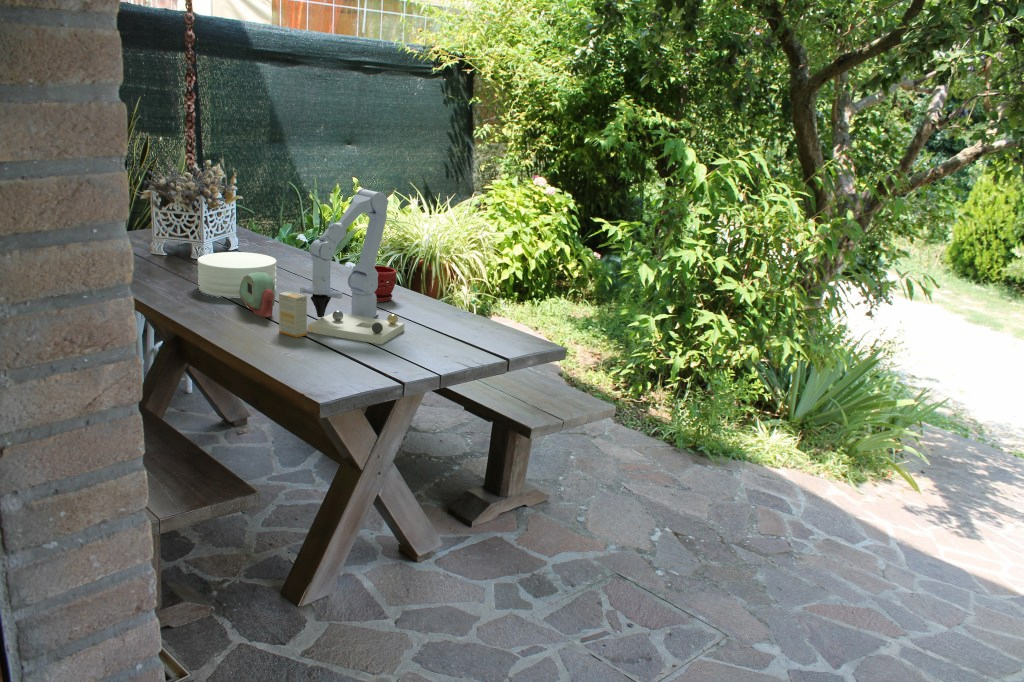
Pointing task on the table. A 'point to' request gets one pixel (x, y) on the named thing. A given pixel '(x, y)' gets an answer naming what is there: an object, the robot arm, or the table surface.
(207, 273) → the plate stack
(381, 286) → the plant pot
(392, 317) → the brass ball
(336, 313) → the steel ball
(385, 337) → the hole plate
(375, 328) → the black rubber ball
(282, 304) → the supplement box
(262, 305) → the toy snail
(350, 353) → the table surface
